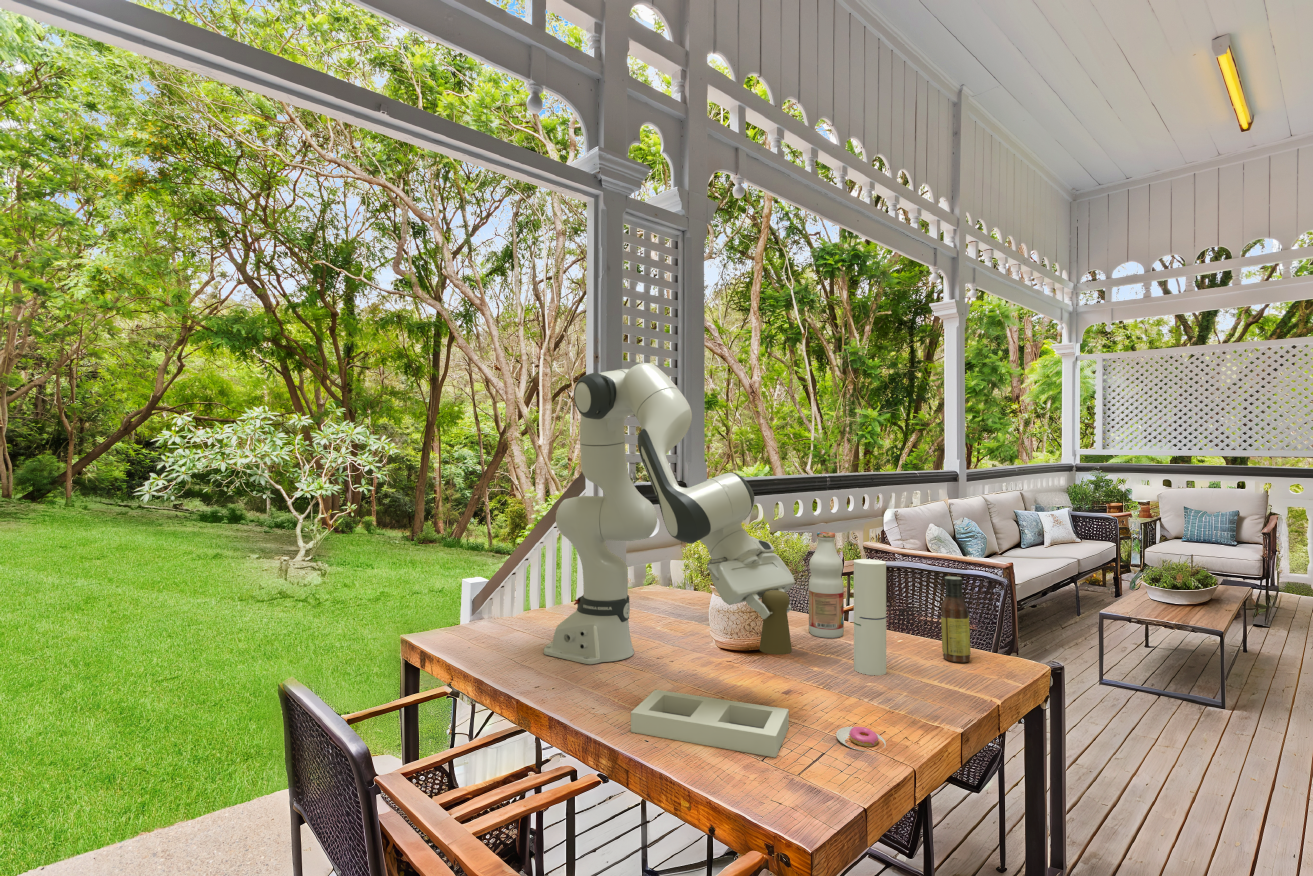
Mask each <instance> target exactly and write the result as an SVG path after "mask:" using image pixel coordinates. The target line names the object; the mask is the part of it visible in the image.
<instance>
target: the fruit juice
mask: <svg viewBox="0 0 1313 876" xmlns="http://www.w3.org/2000/svg"><path fill="white" fill-rule="evenodd" d="M816 539H817V545H816V548H815V550H814V553H813V555H812V556H811V557H810V559H809V565H808V567H809V571H810V577H809V580H808V631H809V634H810V635H812V636H814V637H818V638H822V639H823V638H824V639H838V638H841V637H842V636H843V635H844V632H845V631H844V629H845V627H844V625H845V624H844V620H845V619H844V618H845V617H844V615H845V614H844V613H845V611H844V609H845V608H844V607H845V605H844V603H845V601H844V600H845V599H844V598H845V597H844V593H845V592H844V591H845V589H844V586H845V585H844V581H843V578H842V573H843V570H844V564H843V563H844V562H843V560H842V558H841V557H840V556H839V553H838V552H837V549H836V545H835V539H836V533H835V532H833V531H831V532H830V531H818V532H816Z"/></svg>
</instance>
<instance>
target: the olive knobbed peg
mask: <svg viewBox="0 0 1313 876" xmlns="http://www.w3.org/2000/svg"><path fill="white" fill-rule="evenodd" d="M790 598H791V597H790V596H789V594H788V593H787V592H783V591H779V590H770V591H766V592H764V594H763V596H762V598H761V602H762V603H763V604H764V605H765V606H769V608H770V610H772V612H773V614H772V615H771V616H770V617H769V618H767V619H763V620H762V628H761V634H760V635H761V636H760V641H759V647H758V648H759V651H760V652H762V653H764V654H770V655H781V656H782V655H787V654H789V655H790V654H791V653H793V649H792V641H791V634H790V633H791V631H790V625H789V618H788V617H789V616H788V613H787V608H788V607H789V605H790V604H791V603H790Z"/></svg>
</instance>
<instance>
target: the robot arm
mask: <svg viewBox="0 0 1313 876" xmlns="http://www.w3.org/2000/svg"><path fill="white" fill-rule="evenodd" d="M573 400H574V405H575V407H576V409H577V411H578V412H579V414H580V421H579V423H580V424H579V446H580V466H581V468H580V469H581V470H580V471H581V472H582V475H583V476H584V477H585V479H586V480H588V481H589V482H591V483H593V484H595V485H596V486H598V487H599V488H600V490H601V491H602V493H603V494H604V496H602V495H601V496H600V495H579V496H574V497H570V498H565V499H563V500H562V501H561V502H560V504H559V506H558V507H557V509H556V512H555V513H556V514H555V524H556V527H557V529H558V531H559V532H560V534H561V535H562V536H563V537H564V538H566V539H567V540H568V541H569V543H571V544H572V546H573V547H574V549H575V550H576V553H577V554H578V556H579V559H580V562H581V563H580V564H581V566H582V582H583V584H582V585H583V591H582V592H583V593H582V595H581V596H579V597H577V599H574V600H573V602H574V603H573V605H574V606H576V605H577V606H576V607H577V608H576V610H575V611H574V612H572V613H571V614H570V615H569V616H567V618H565V619H564V620H562V621H561V622H560V623H559V624H557V626H556V627H555V630H554V632H553V639H552V641H551V642H550V643H548V644H547V645H546V646H545V647H544V649H543V654H544V655H546V656H550V657H554V658H559V659H563V660H568V661H573V662H576V663H581V664H584V665H594V664H599V663H607V662H608V663H609V662H617V661H621V660H625V659H628V658H630V657H632V656H633V655H634V653H635V651H634V647H633V643H632V637H631V632H630V623H629V619H630V611H631V608H630V607H631V605H630V595H629V594H628V592H629V591H628V590H629V585H628V584H629V581H628V580H629V579H628V578H629V567H628V565H627V563H626V561H624V559H622V558H621V557H620V556H618V555H617V554H615V553H613V552H611V550H610V549H609V548H608V546H607V542H606V541H612V542H613V541H614V542H615V541H617V542H635V541H639V540H640V541H641V540H646V539H649V538H650V537H651V536H652V535H653V533H654V532H655V530H656V528H657V525H658V513H657V510H656V507H655V506H654V505H653V503H652V502H651V501H650V499H648V498H646V497H645V496H643V494H641V493H640V492H639V491H638V490H639V489H637V487H636V486H635V485H634V483H633V481H632V479H631V476H630V474H629V470H628V469H629V468H628V464H627V463H628V462H627V456H626V455H627V454H626V453H627V452H626V437H625V435H626V433H625V422H626V419H627V418H628V417H629V416H634V417H635V418H636V420H637V421H638V423H639V425H640V428H641V431H639V432H638V435H637V448H638V452H639V455H640V458H641V462H642V464H643V467H644V470H645V472H646V474H647V477H648V479H649V482H650V484H651V487H652V489H653V493H654V494H655V497H656V500H657V503H658V505H659V509H660V513H661V515H662V519H663V522H664V526H665V527H666V530H667V532H668V534H669V535H670V536H671V537H672V538H673V539H675V540H677V541H679V542H683V543H686V544H690V545H692V544H695V543H696V542H698V541H700V542H701V544H703V545H704V546H705V547H706V549H707V551H708V554H709V557H711V559H709V560H708V562H707V566H706V568H707V570H708V572H709V574H710V579H711V582H712V584H713V586H714V587H715V589H716V591H717V593H718V595H719V596H720V598H721V600H722V601H723V603H725V604H726V605H729V606H731V605H732V606H733V605H736V604H740V603H746V605H748V607H750V608H751V609H752V610H754V611H755V612H756V613H758V615H760V617H761V619H767V618H769V617H770V616H771V615H772V614H773V612H772V610H770V608H769V606H765V605H764V604H763V603H762V600H760V599H762V596H763V594H764V592H766V591H770V590H779V591H783V592H786V593H787V592H788V591H789V590H790V589H791V588H792V587H793V586H794V585H795V577H794V575H793V574H792V572H791V571H790V569H789V568H788V566H787V565H786V563H785V562H784V561H783V559H781V557H780V556H779V555H777V554H776V553H775V552H774V551H775V548H774V546H773V544H771V542H769V541H766V540H761V539H759V538H756V537H754V536H751V535H749V533H748V532H747V530H745V528H743V525H742V523H743V521H745V520H746V519H747V518H748V517H749V516H750V514H751V512H752V511H753V507H754V504H755V494H754V491H753V489H752V487H751V485H750V484H749V483H748V481H747V480H746V479H745V478H743V476H742V475H740V474H737V473H735V472H731V471H730V472H726V473H722V474H719V475H717V476H714V477H712V478H709V479H707V480H705V481H702V482H701V483H698V484H695V485H693V486H690V487H683V486H680V485H679V483H678V481H677V479H676V477H675V474H674V472H673V470H672V467H671V466H670V462H669V460H668V458H667V454H668V453H669V452H670V451H671V450H672V449H673V448H674V447H675V446H677V444H679V443H680V442H681V441H682V440H683V438H685V436H686V435H687V433H688V431H689V429H690V427H691V424H692V419H693V414H692V413H693V412H692V409H691V406H690V404H689V402H688V400H687V398H686V397H685V396H684V394H683V393H682V392H681V391H680V389H679V388H678V386H677V385H676V384H675V383H674V382H673V381H672V380H671V378H670V377H669V376H668V375H667V374H666V373H665V372H664V371H663V370H661V369H660V368H659V367H658V366H657V365H656V364H653V363H650V362H640V363H638V364H635V365H633V366H632V367H631V368H620V369H615V370H608V371H602V372H590V373H588V374H585V375H583V376H581V377H579V379H577V382H576V384H575V386H574V390H573ZM791 610H792V606H791V605H790V604H789V607H788V608H787V614H788V613H789V612H790V611H791Z"/></svg>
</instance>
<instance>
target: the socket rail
mask: <svg viewBox="0 0 1313 876" xmlns="http://www.w3.org/2000/svg"><path fill="white" fill-rule="evenodd" d="M789 713H790V711H789V709H788V708H783V707H777V706H776V707H775V706H770V705H769V706H768V705H762V704H756V703H749V702H743V701H735V700H731V699H730V700H728V699H722V698H715V697H709V696H708V697H707V696H701V695H696V694H695V695H694V694H688V693H681V692H673V691H668V690H661V689H654V690H653V691H652V692H651V693H650V694H649V695H648V696H647V697H645V698H644V700H642V701H641V702H640V703H639V704H638V705H637V706H635V708H634V709H633V710H631V711H630V733H634V734H641V735H645V736H652V737H657V738H662V739H667V740H668V739H669V740H674V741H681V742H686V743H689V744H690V743H692V744H696V745H702V746H708V747H714V748H719V749H726V750H731V751H735V752H736V751H737V752H741V753H749V754H752V755H759V756H764V757H771V758H775V759H776V758H777V756H778V754H779V752H780V750H781V747H782V744H783V742H784V741H785V738H786V735H787V734H788V731H789V727H790V726H789V721H790V720H789V719H790V716H789ZM786 733H787V734H786Z"/></svg>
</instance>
